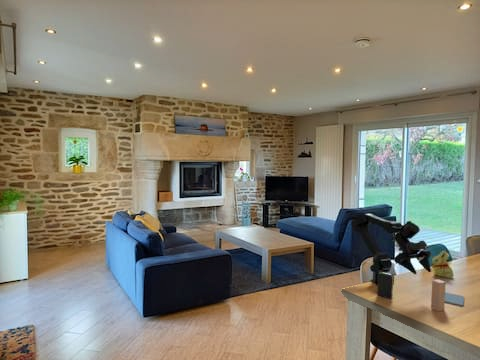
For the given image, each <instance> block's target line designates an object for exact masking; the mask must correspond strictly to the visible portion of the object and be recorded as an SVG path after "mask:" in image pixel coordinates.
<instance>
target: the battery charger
mask: <svg viewBox="0 0 480 360" xmlns="http://www.w3.org/2000/svg"><path fill="white" fill-rule="evenodd" d="M394 285H395V276H394V274H392V273H391V272H387V273H386V272H380V273H379V274H378V285H377V292H376V295H378V296H380V297H384V298H387V299H393V296H394V295H393V289H394Z"/></svg>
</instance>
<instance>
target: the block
mask: <svg viewBox="0 0 480 360" xmlns="http://www.w3.org/2000/svg"><path fill="white" fill-rule="evenodd" d="M431 281H432V282H431V299H430V300H431V301H430V302H431V303H430V309H433V310H435V311H437V312H441V311H445V292H446V281H443V280H442V279H440V278H438V279H432V280H431Z"/></svg>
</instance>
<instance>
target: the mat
mask: <svg viewBox="0 0 480 360" xmlns="http://www.w3.org/2000/svg"><path fill="white" fill-rule="evenodd" d="M464 302H465V296H464V295H460V294H455V293H451V292H446V291H445V303H446V304H449V305H451V304H452V305H455V306H459V307H464Z"/></svg>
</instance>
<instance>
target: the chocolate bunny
mask: <svg viewBox="0 0 480 360" xmlns="http://www.w3.org/2000/svg"><path fill="white" fill-rule="evenodd" d="M450 256H451V255H450V254H449V253H447V251H446V250H442V251H441V252H440V253H438V255H436V256H434V257H433V258H432V260H431V262H432V264H433V265H431V268H433V271H434V272H433V274H434V276H438V277H443V278H448V279H453V278H454V272H453V269H452V267H451V266H450V265H449V264H448V262H447V260H448V259H449V258H450Z"/></svg>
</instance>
